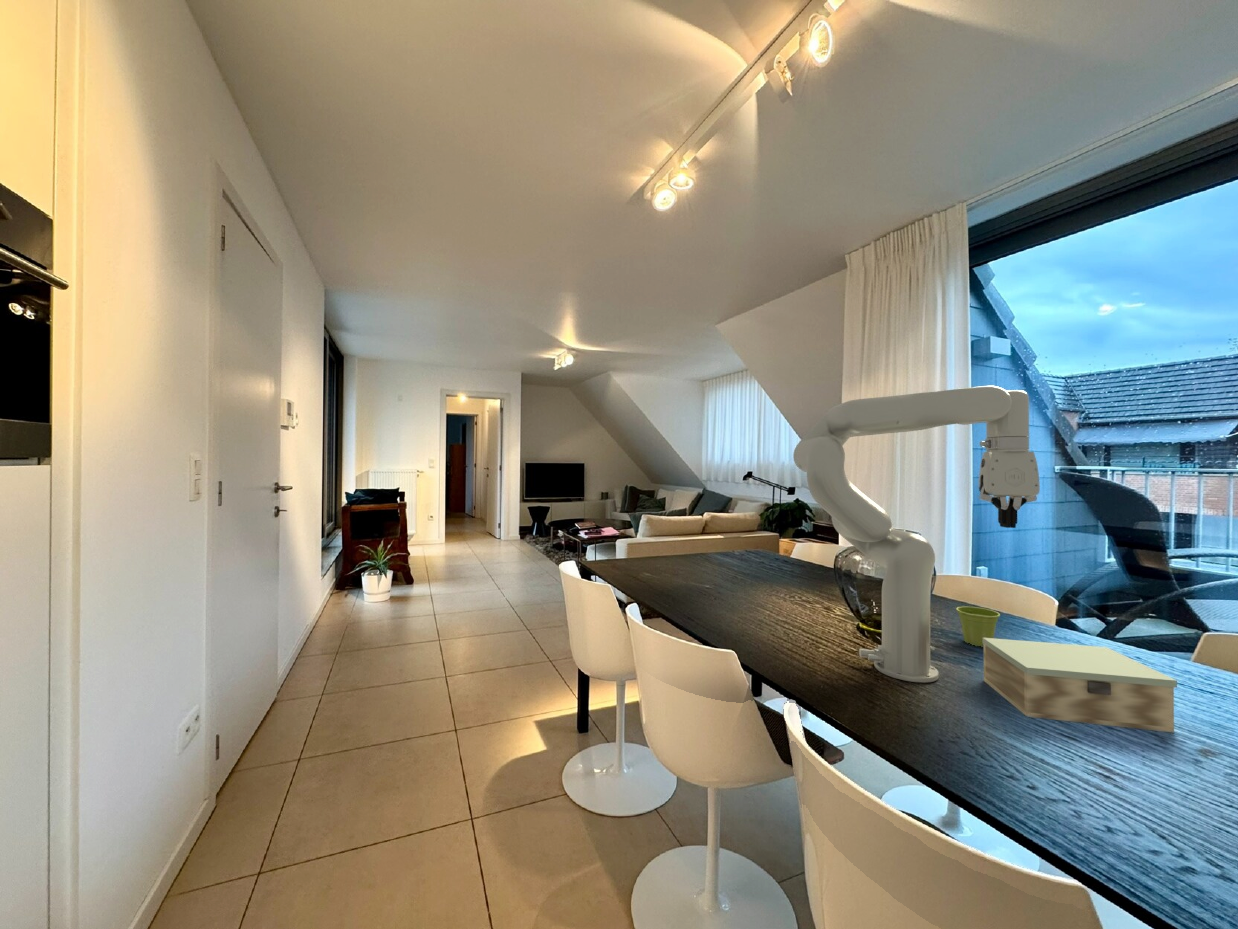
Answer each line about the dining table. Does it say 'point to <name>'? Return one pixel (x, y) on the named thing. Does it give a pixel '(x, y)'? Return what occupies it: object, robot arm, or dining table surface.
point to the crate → (1081, 697)
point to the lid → (1076, 662)
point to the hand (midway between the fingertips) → (1007, 527)
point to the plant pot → (977, 624)
